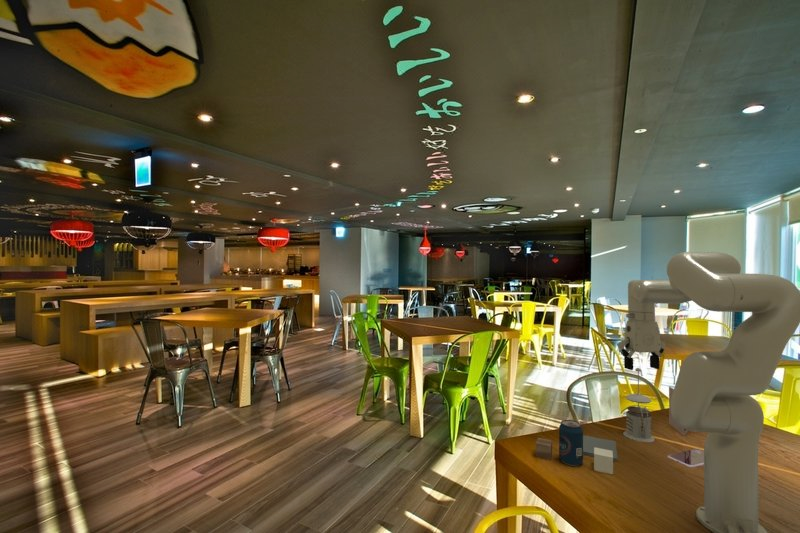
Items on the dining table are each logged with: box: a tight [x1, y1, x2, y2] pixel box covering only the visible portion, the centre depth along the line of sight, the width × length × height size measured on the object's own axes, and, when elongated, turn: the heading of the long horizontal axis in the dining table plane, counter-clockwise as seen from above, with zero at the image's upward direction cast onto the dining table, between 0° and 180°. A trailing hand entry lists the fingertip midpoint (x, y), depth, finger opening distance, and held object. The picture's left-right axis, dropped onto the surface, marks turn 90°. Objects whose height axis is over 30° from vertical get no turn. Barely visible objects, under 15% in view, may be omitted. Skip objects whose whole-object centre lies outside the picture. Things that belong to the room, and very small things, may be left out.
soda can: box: [558, 419, 584, 467], centre depth 118 cm, size 7×7×12 cm
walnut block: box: [535, 437, 553, 461], centre depth 122 cm, size 4×4×4 cm
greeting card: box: [668, 386, 690, 436], centre depth 144 cm, size 11×7×15 cm, turn 132°
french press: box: [623, 367, 656, 443], centre depth 137 cm, size 10×12×25 cm
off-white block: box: [593, 447, 614, 475], centre depth 114 cm, size 5×5×5 cm
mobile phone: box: [667, 448, 704, 468], centre depth 121 cm, size 8×1×15 cm
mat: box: [583, 434, 618, 462], centre depth 128 cm, size 14×14×1 cm
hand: (641, 368), depth 124 cm, fingers open, 9 cm apart
